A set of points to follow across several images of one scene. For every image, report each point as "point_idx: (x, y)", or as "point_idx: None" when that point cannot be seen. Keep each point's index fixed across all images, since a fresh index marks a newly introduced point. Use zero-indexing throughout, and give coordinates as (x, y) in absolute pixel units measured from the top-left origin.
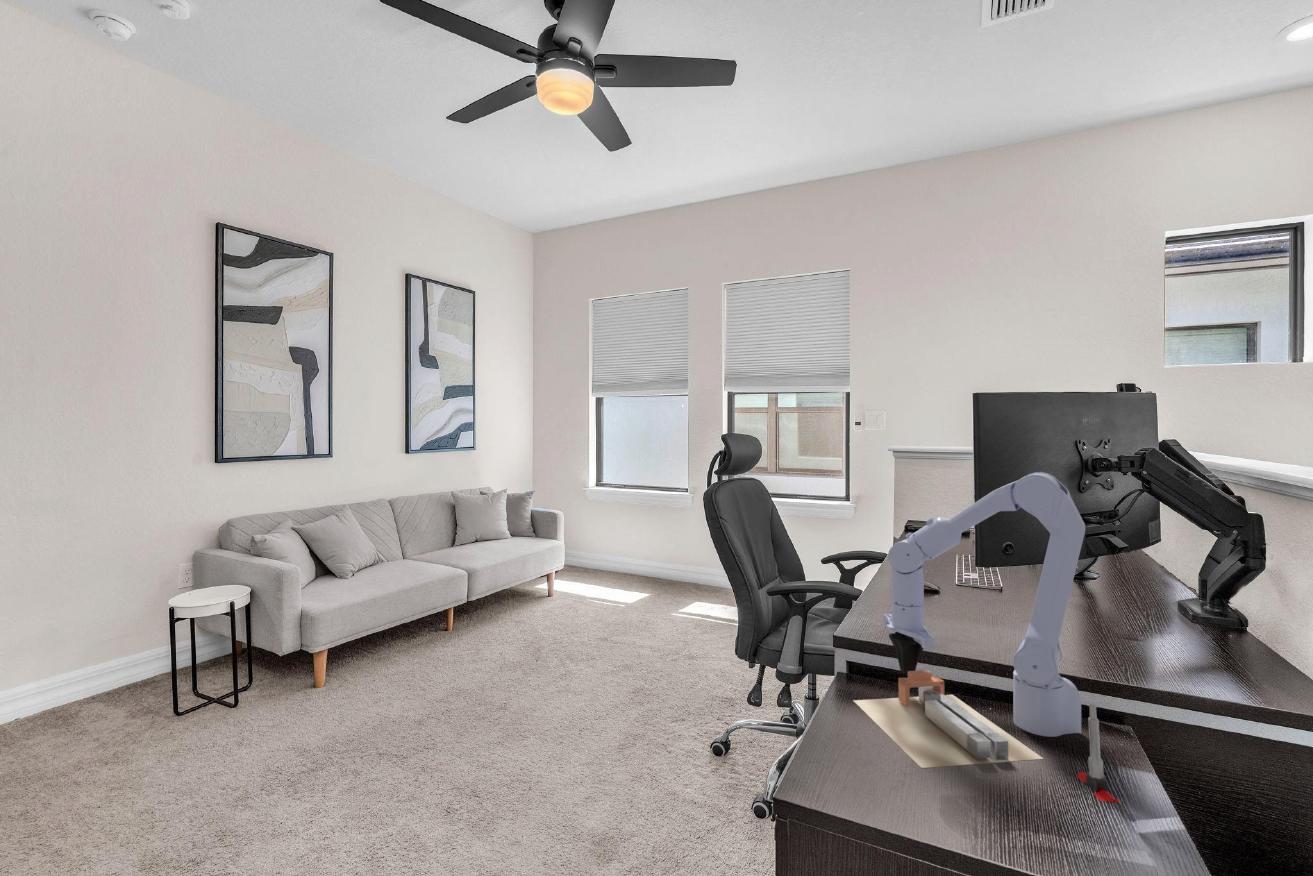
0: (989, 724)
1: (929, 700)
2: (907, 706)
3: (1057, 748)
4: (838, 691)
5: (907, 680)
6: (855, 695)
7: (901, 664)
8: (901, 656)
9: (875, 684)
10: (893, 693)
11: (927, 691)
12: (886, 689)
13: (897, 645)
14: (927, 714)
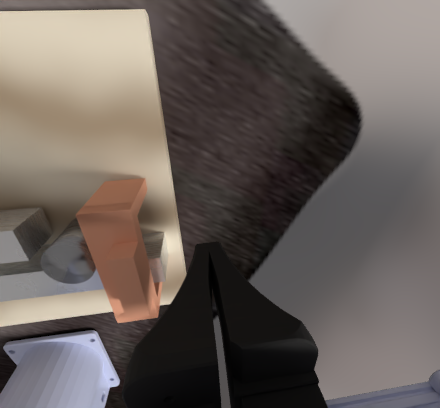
0: (44, 312)
1: (20, 243)
2: None
3: (6, 360)
4: (269, 13)
5: (109, 231)
6: (231, 69)
7: (204, 259)
8: (195, 284)
9: (291, 168)
10: (231, 192)
11: (85, 261)
12: (256, 184)
13: (211, 318)
14: (21, 212)
